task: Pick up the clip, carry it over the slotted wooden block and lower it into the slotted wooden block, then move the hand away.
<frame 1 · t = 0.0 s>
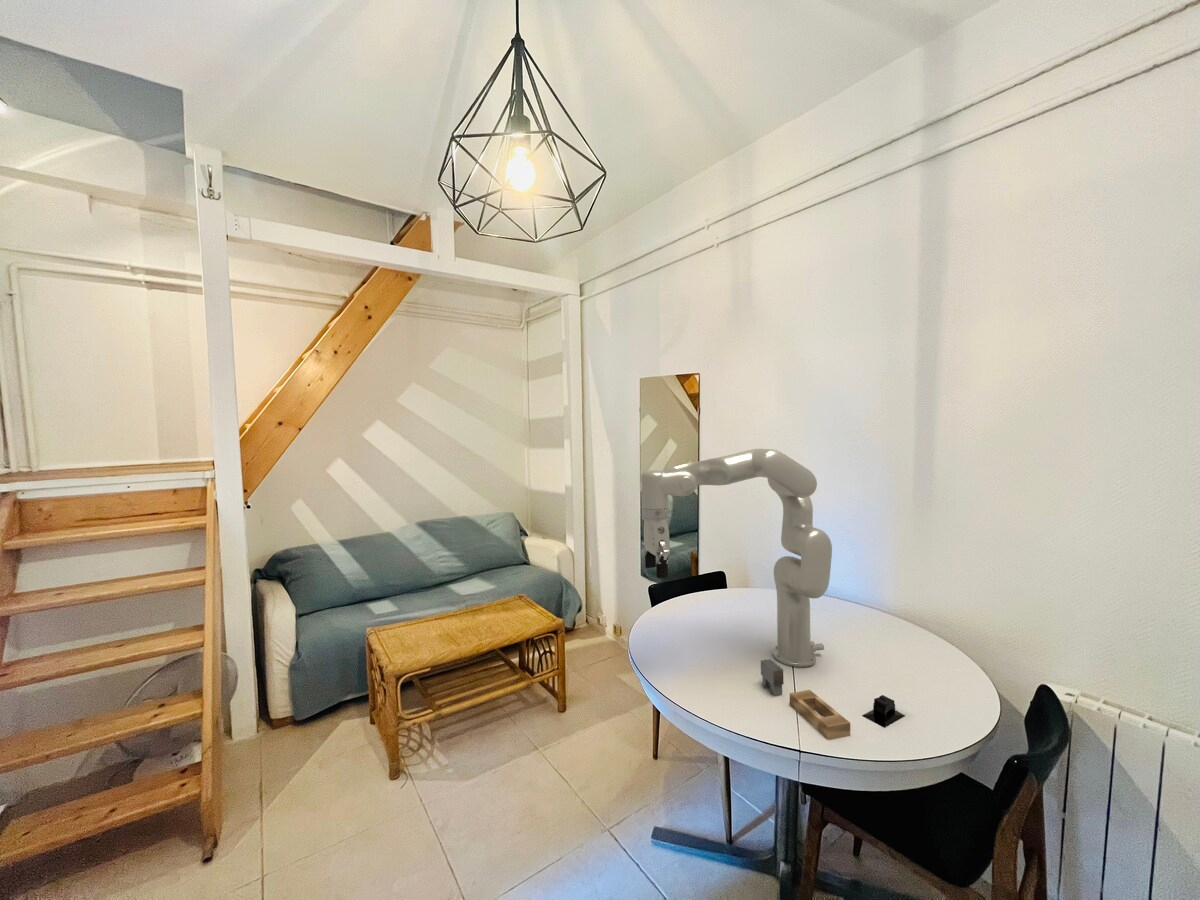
hand: (656, 572, 130), 31 cm above the table, fingers open, 9 cm apart
slotted wooden block: (818, 719, 111), on the table
clip: (772, 690, 124), on the table
black piece: (884, 718, 112), on the table
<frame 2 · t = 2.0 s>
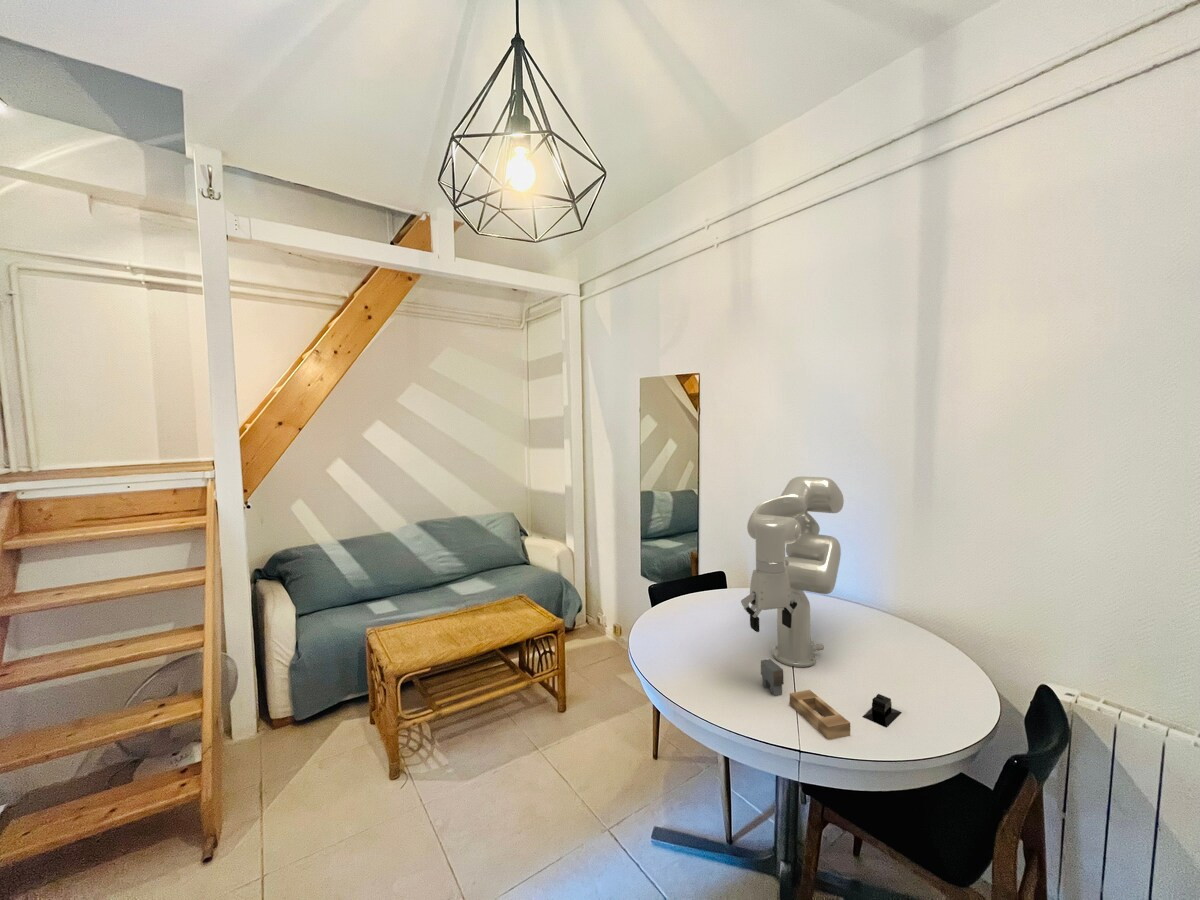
hand: (771, 628, 123), 17 cm above the table, fingers open, 9 cm apart
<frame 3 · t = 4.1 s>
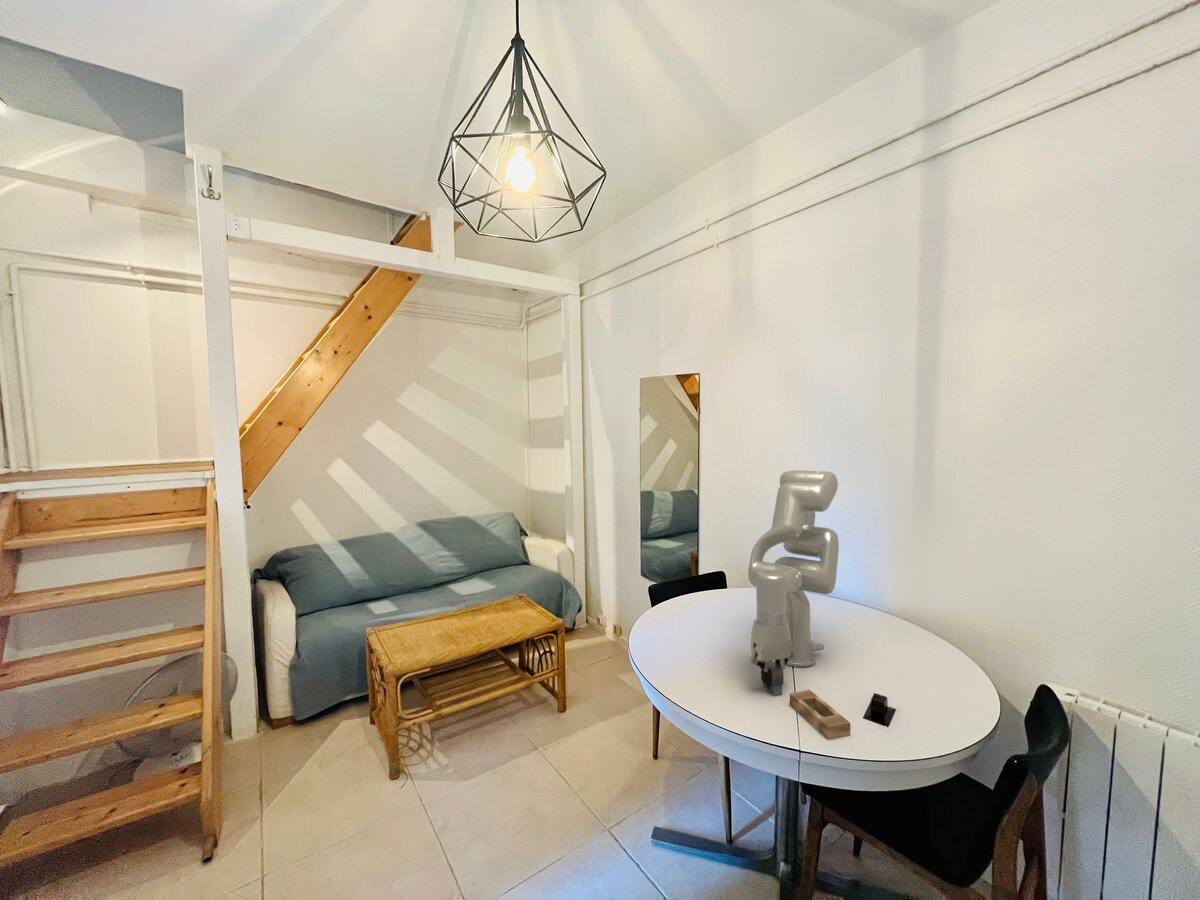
hand: (772, 682, 124), 2 cm above the table, fingers closed on clip, 3 cm apart
clip: (772, 689, 124), on the table, touching gripper
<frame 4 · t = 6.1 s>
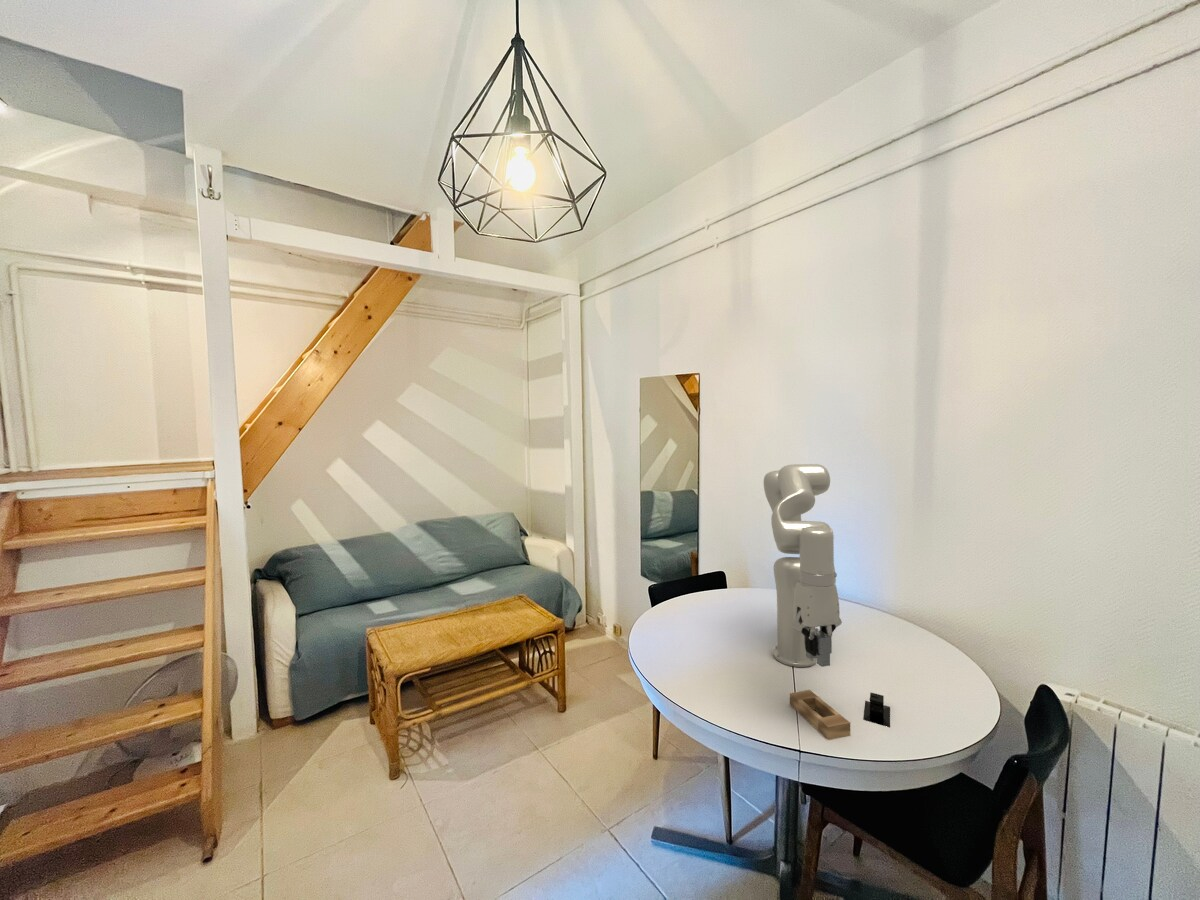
hand: (817, 651, 110), 17 cm above the table, fingers closed on clip, 3 cm apart
clip: (817, 660, 110), point 15 cm above the table, touching gripper
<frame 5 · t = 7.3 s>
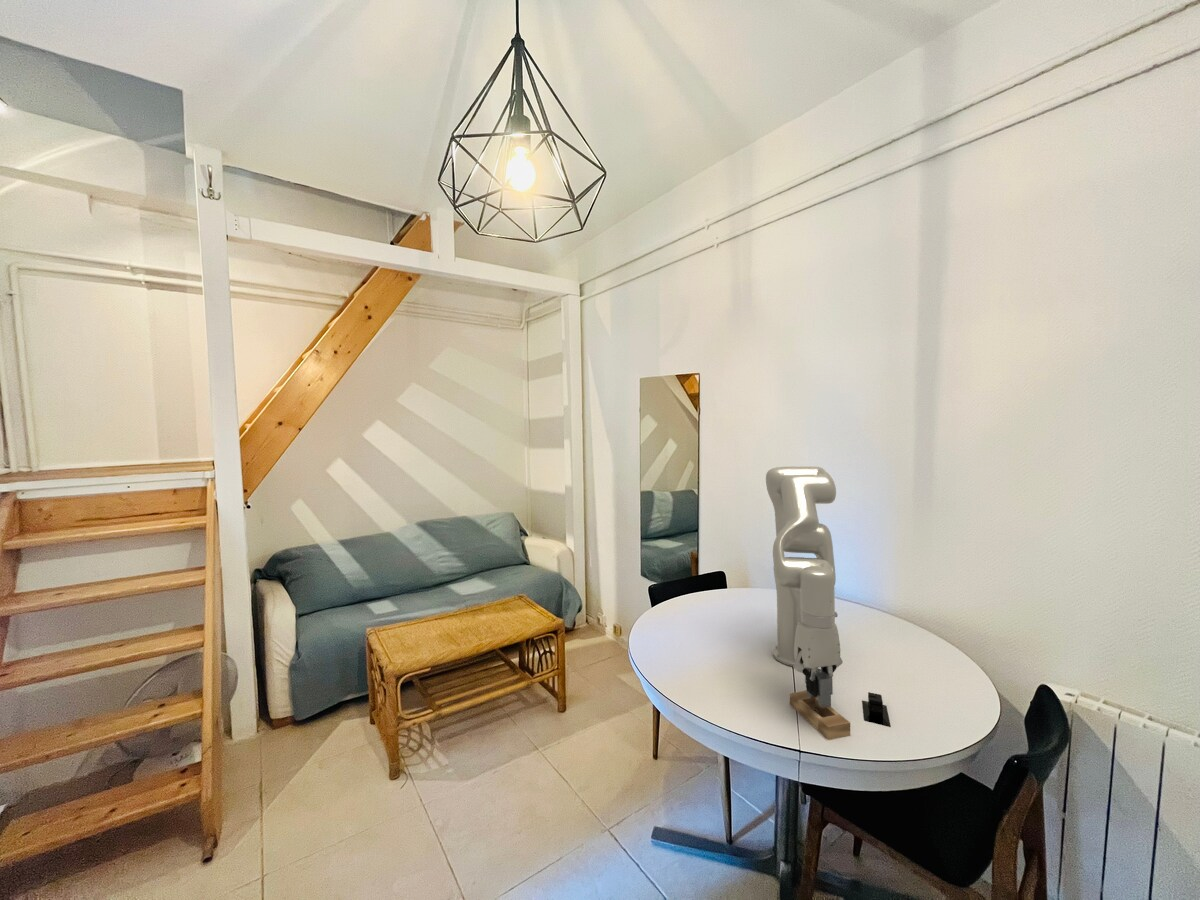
hand: (818, 691, 110), 7 cm above the table, fingers closed on clip, 3 cm apart
clip: (818, 700, 110), point 5 cm above the table, touching gripper
when the fingers open (4 cm above the table, at t = 8.1 s): clip drops 2 cm, resting in slotted wooden block.
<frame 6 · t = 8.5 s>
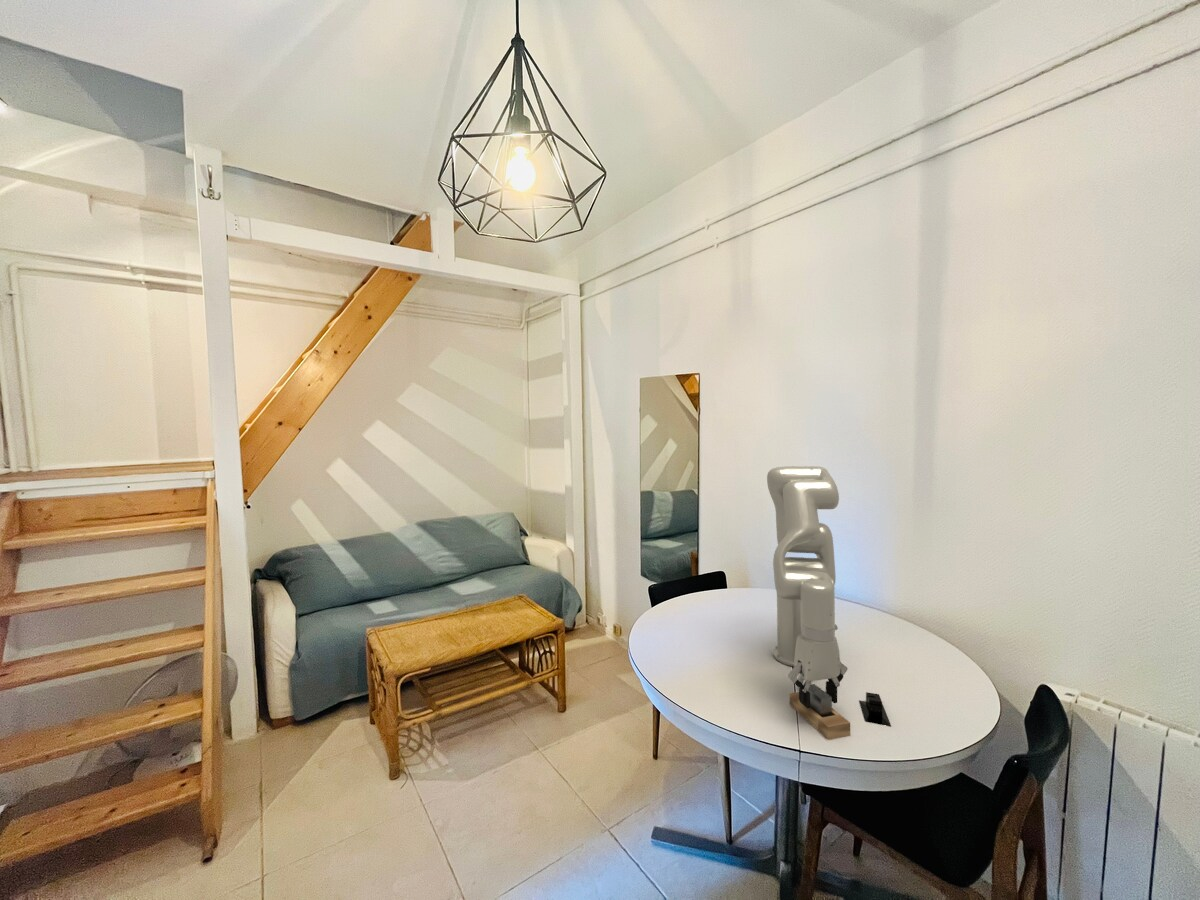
hand: (818, 702, 111), 4 cm above the table, fingers open, 7 cm apart
clip: (818, 719, 111), resting in slotted wooden block
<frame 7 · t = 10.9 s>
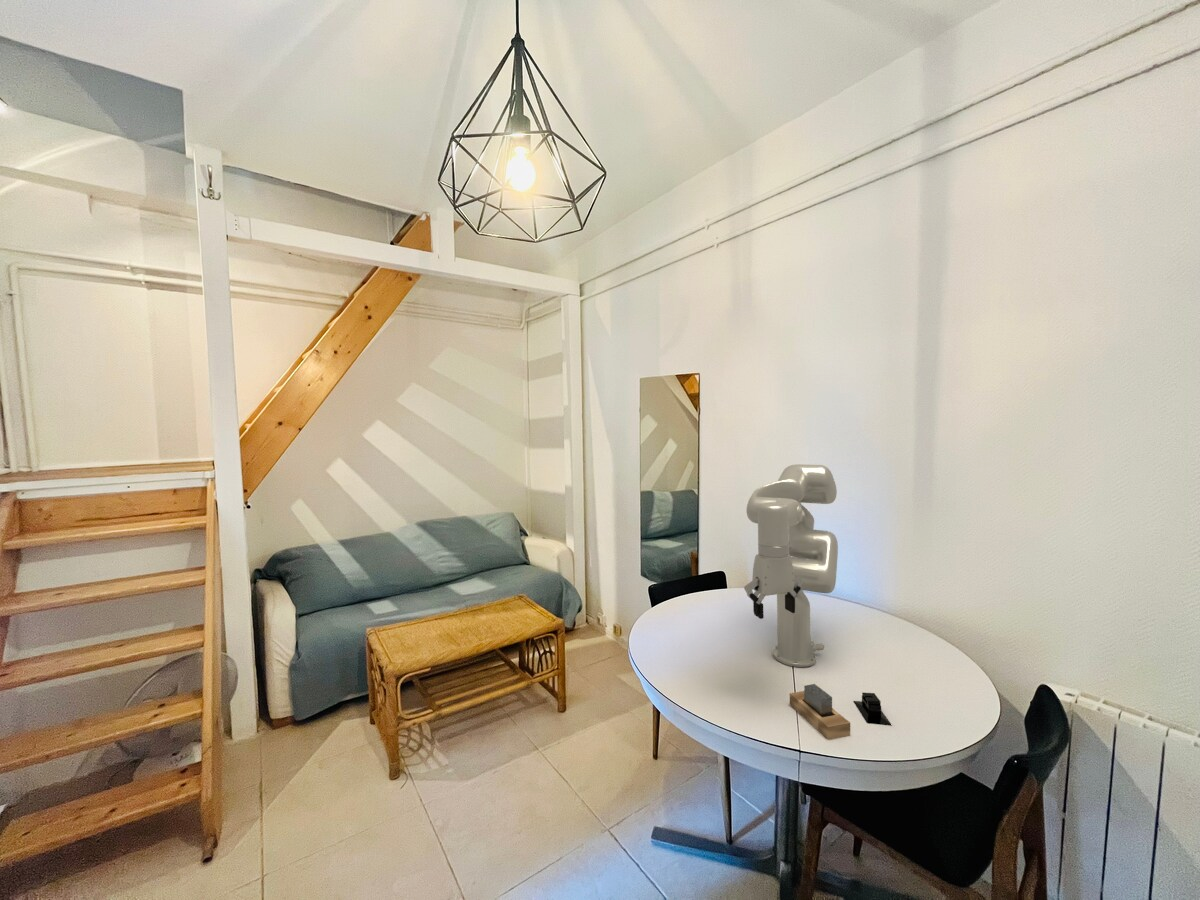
hand: (774, 613, 119), 23 cm above the table, fingers open, 9 cm apart
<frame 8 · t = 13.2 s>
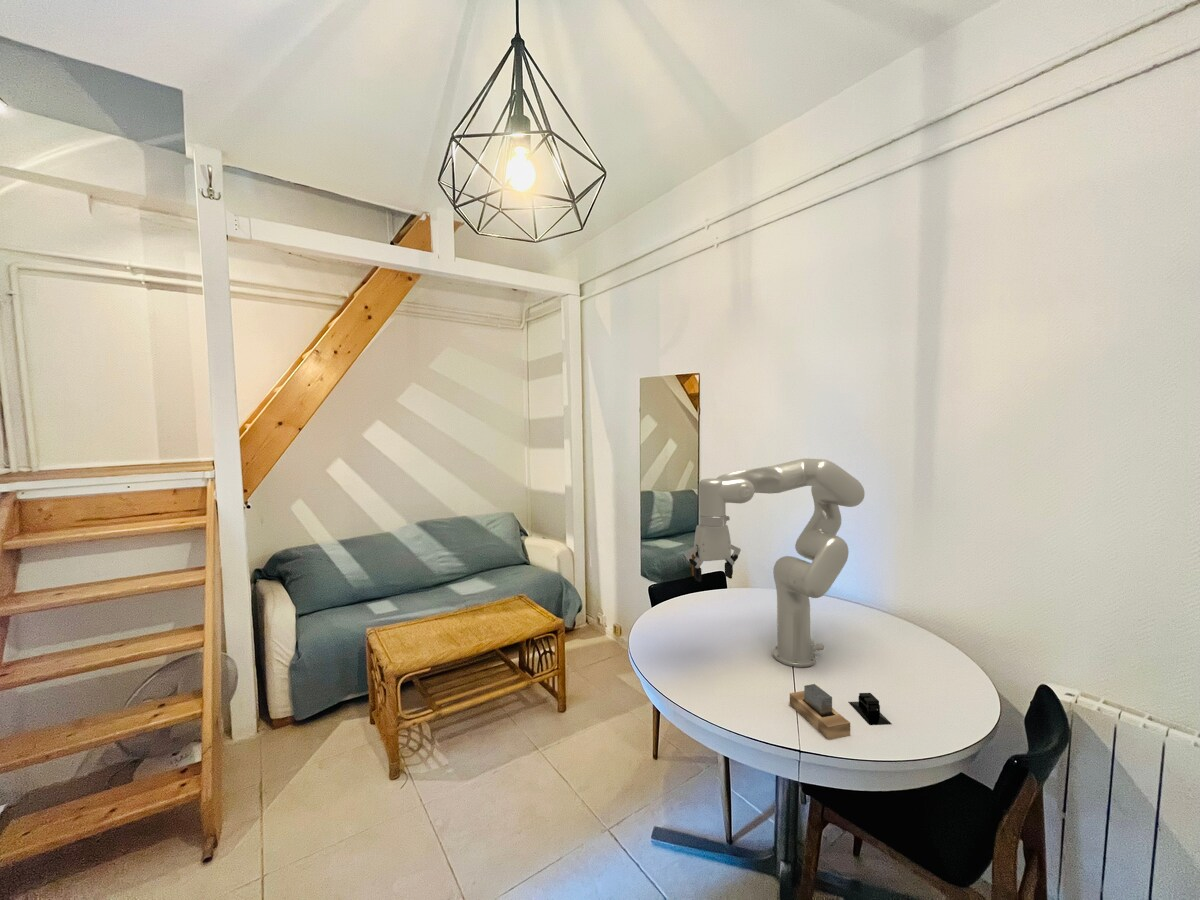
hand: (713, 578, 132), 28 cm above the table, fingers open, 9 cm apart
at the end: clip 0.1 cm off-centre on the slotted wooden block, point 0.0 cm above the slotted wooden block's base; clip tilted 0°; the gripper is holding nothing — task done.
